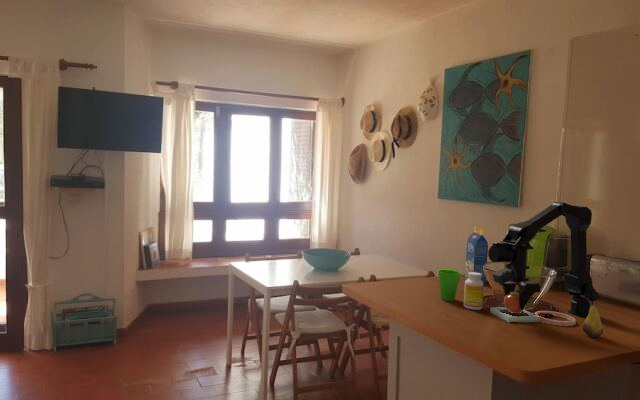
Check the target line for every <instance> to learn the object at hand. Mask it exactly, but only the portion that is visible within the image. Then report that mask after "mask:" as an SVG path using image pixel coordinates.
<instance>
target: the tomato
mask: <svg viewBox="0 0 640 400" xmlns="http://www.w3.org/2000/svg"><path fill="white" fill-rule="evenodd" d="M516 290H518V289H516V288H515V291H514V292H510V294H507V295H506V296H505V295H504V297H503V303H504V306H505V307H506V308H507V310H508V311H509V312H511V313H521V312H522V311H523V310H526V306H527V305H526V306H525V307H524V309H520V305H519V293H518V292H517V291H516Z"/></svg>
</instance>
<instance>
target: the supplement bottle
mask: <svg viewBox="0 0 640 400" xmlns="http://www.w3.org/2000/svg"><path fill="white" fill-rule="evenodd" d="M468 277H469V279H465V281H464V291H463V292H464V293H463V307H464V308H466V309H469V310H475V311H480V310H481V309H483V302H484V287H485V285H484V284H485V283H483V281H481V277H482V274H480V273H476V272H469V273H468Z"/></svg>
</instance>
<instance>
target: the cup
mask: <svg viewBox="0 0 640 400" xmlns="http://www.w3.org/2000/svg"><path fill="white" fill-rule="evenodd" d="M437 272H438V280H439V282H438V283H439V291H440V298H441V300H443V301H445V302H447V301H448V302H453V301H455V300H456V295H457V290H458V286H459V283H460V278H461V274H462V272H461V271H459V270H455V269H449V268H448V269H447V268H440V269H437Z"/></svg>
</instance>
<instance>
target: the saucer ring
mask: <svg viewBox="0 0 640 400" xmlns="http://www.w3.org/2000/svg"><path fill="white" fill-rule="evenodd" d="M540 313H549V314H552V315H553V316H552V317H557V318H560V319H564V320H555V319H549V318H545V317H543V316H542V315H540V316H539V315H538V314H540ZM533 314H535V315H537V316H539V317H540V319H539V322H541V323H544V324H547V325H553V326H557V327H558V326H559V327H572V326H574V325H576V322H577V321H576V318H575V317H574V316H571V315H570V314H566V313H563V312H557V311H552V310H551V311H550V310H538V311H535V312H534V313H533Z"/></svg>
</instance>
